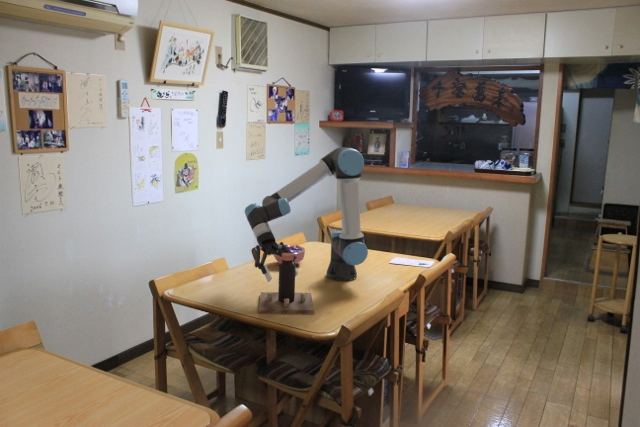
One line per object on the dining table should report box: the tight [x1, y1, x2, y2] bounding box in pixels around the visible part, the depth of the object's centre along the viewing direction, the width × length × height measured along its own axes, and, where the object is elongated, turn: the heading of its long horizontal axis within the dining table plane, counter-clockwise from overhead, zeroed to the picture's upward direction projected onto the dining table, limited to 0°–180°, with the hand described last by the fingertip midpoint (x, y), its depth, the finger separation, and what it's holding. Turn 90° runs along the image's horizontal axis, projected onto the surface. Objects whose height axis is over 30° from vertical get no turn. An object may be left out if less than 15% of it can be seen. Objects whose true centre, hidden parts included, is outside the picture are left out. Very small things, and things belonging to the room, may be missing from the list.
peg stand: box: [258, 291, 315, 315], centre depth 224 cm, size 22×22×4 cm
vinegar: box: [277, 253, 296, 303], centre depth 223 cm, size 7×7×20 cm
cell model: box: [273, 244, 306, 265], centre depth 287 cm, size 17×20×11 cm
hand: (283, 277), depth 224 cm, fingers open, 13 cm apart
